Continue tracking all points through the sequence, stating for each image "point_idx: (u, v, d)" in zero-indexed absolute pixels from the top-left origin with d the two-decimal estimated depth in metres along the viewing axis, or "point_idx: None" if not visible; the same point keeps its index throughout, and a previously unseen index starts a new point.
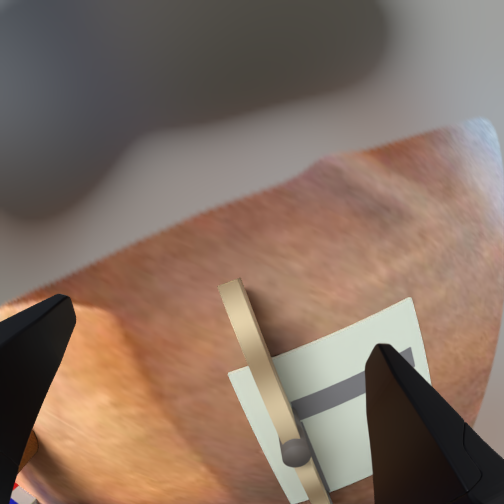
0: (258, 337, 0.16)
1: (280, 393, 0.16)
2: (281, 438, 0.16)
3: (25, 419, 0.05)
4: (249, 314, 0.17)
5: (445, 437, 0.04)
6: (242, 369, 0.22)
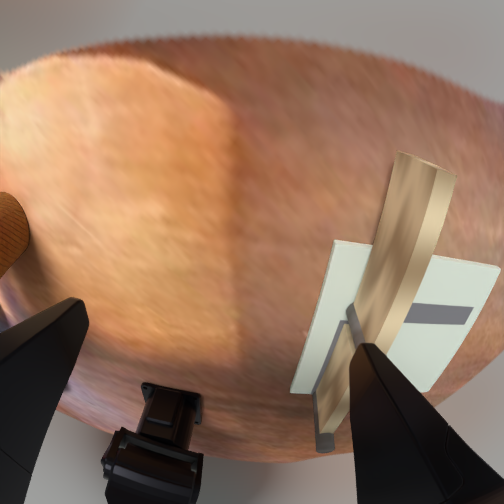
0: (434, 244, 0.12)
1: (409, 306, 0.14)
2: None
3: (38, 426, 0.05)
4: (444, 217, 0.12)
5: (426, 441, 0.04)
6: (352, 245, 0.19)
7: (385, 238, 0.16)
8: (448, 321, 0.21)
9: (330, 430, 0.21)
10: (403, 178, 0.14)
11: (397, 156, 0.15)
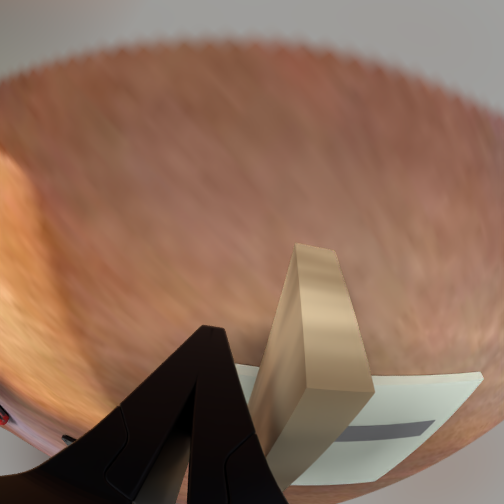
0: (306, 466, 0.06)
1: None
2: None
3: None
4: (327, 447, 0.05)
5: (206, 440, 0.04)
6: None
7: (259, 390, 0.10)
8: (395, 436, 0.15)
9: None
10: (285, 317, 0.08)
11: (293, 257, 0.08)
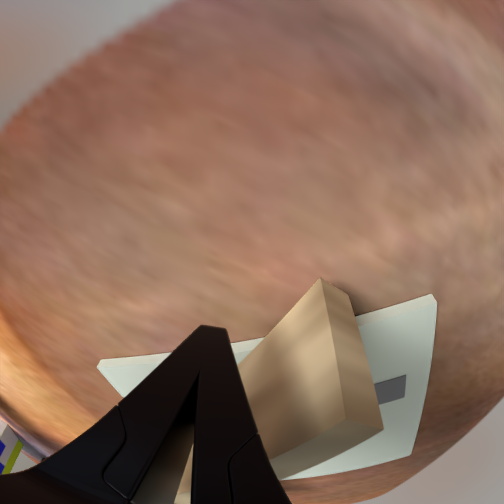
0: (280, 478, 0.06)
1: None
2: None
3: None
4: (315, 465, 0.06)
5: (208, 441, 0.04)
6: (112, 365, 0.13)
7: None
8: None
9: None
10: (296, 342, 0.08)
11: (314, 289, 0.09)
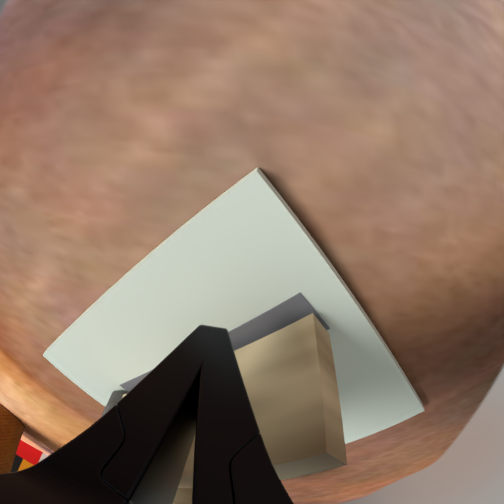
0: None
1: None
2: None
3: None
4: None
5: (210, 441, 0.04)
6: (48, 348, 0.13)
7: None
8: None
9: None
10: (278, 367, 0.09)
11: (304, 323, 0.10)
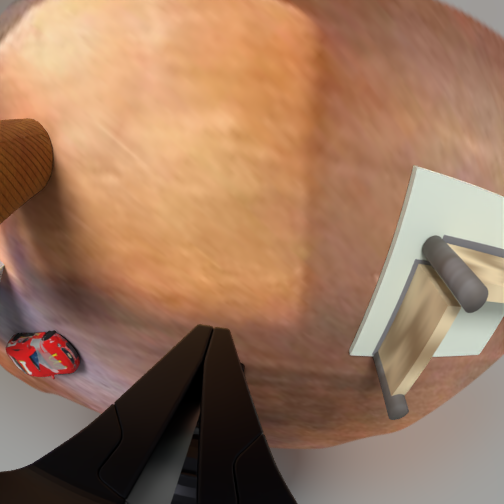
0: None
1: None
2: (484, 284, 0.13)
3: None
4: None
5: (214, 442, 0.04)
6: (431, 171, 0.16)
7: None
8: None
9: (403, 390, 0.18)
10: None
11: None
